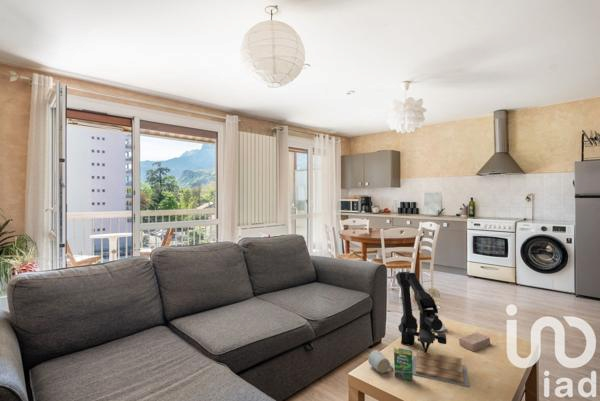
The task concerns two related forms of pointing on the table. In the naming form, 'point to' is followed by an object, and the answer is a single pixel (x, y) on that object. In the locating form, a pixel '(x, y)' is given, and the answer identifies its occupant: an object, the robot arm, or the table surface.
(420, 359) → the click plank
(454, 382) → the underlay
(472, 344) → the brick
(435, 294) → the flower in vase
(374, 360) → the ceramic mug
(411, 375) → the coffee box
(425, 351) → the robot arm
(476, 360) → the table surface
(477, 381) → the table surface
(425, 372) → the laid board
